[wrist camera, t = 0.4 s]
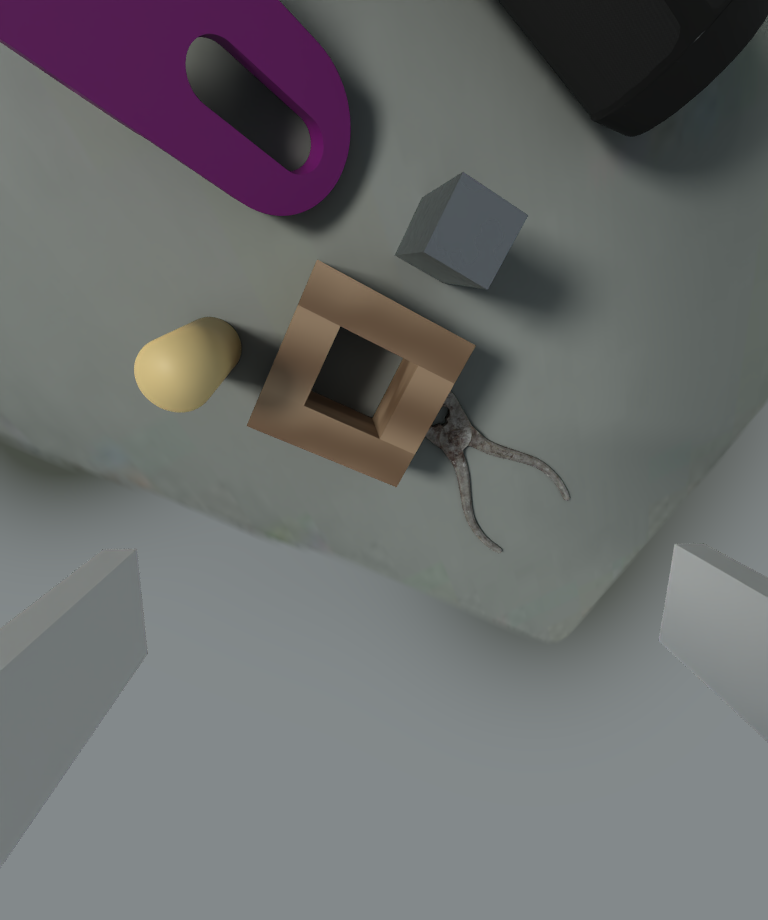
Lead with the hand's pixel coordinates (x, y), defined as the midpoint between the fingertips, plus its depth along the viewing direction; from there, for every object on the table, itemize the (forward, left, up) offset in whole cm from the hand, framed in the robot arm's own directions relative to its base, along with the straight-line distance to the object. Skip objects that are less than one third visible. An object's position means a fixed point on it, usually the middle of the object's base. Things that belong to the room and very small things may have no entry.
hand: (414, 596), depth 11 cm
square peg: (-11, +2, -28) cm, 30 cm away
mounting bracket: (-12, -15, -28) cm, 34 cm away
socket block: (0, +1, -28) cm, 28 cm away
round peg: (+3, -10, -28) cm, 29 cm away
